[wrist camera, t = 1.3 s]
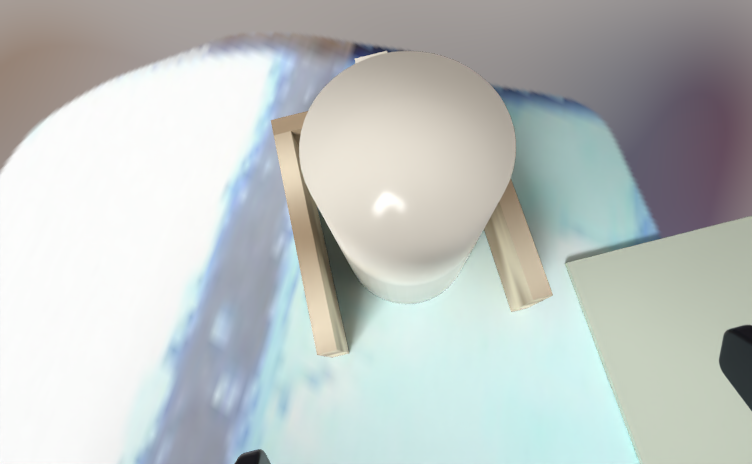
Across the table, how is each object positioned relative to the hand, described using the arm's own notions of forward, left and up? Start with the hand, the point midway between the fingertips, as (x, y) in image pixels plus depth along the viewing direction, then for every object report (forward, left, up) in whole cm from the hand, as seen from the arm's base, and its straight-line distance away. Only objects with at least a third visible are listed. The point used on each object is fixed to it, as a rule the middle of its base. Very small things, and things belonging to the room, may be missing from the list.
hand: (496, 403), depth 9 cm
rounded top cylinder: (+6, -3, -13) cm, 15 cm away
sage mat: (-7, -11, -13) cm, 18 cm away
